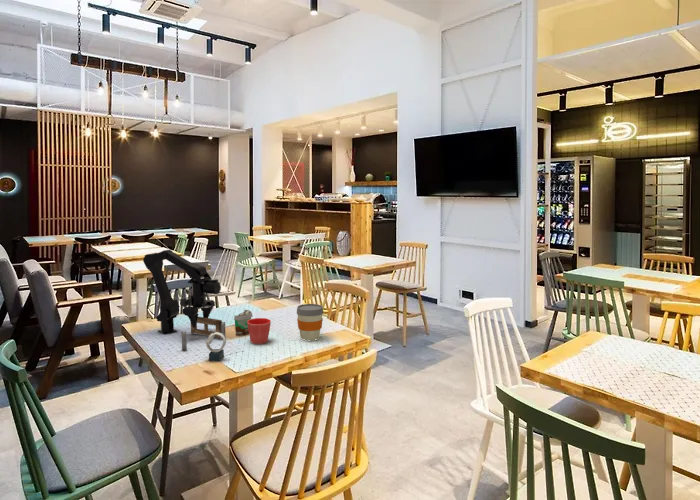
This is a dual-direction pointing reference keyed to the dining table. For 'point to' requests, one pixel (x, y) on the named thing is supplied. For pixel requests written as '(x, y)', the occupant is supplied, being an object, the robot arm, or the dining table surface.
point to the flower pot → (259, 330)
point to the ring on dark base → (215, 353)
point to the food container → (242, 322)
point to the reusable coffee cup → (309, 321)
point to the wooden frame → (207, 322)
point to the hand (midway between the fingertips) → (199, 324)
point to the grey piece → (184, 341)
